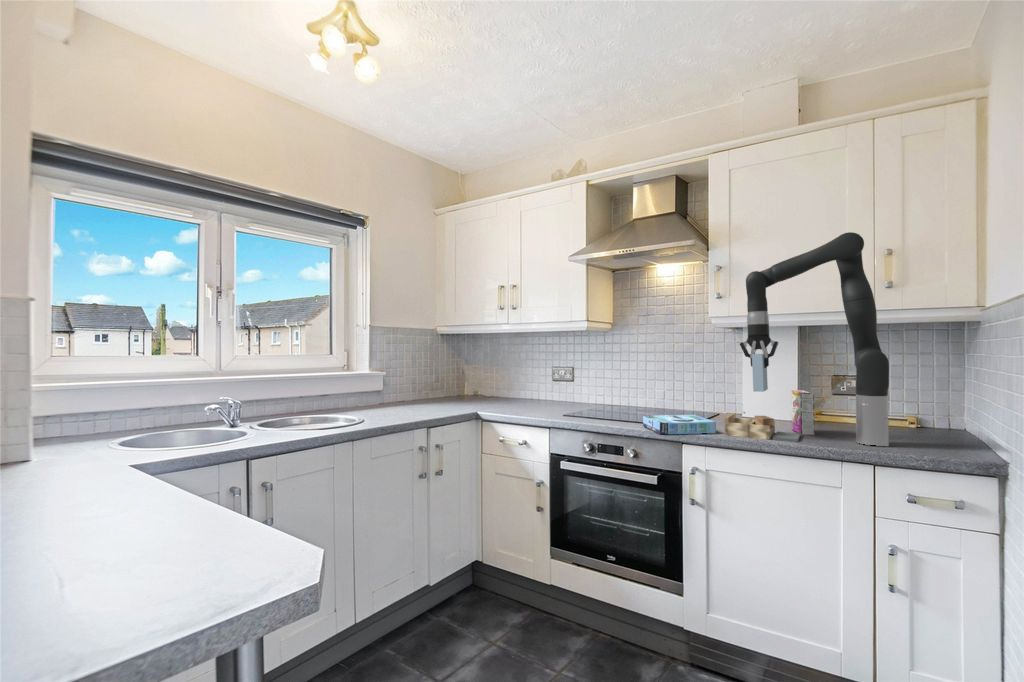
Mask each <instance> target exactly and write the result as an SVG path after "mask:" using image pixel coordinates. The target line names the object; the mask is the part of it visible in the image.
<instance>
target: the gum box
mask: <svg viewBox="0 0 1024 682" xmlns="http://www.w3.org/2000/svg"><path fill="white" fill-rule="evenodd" d="M716 424H717V422H716V421H715V420H711V419H708V418H705V417H702V416H700V415H697V414H668V415H666V414H665V415H664V414H663V415H660V414H659V415H643V417H642V427H643V426H645V427H644V428H646V427H647V428H646V429H648V428H649V430H650V431H652V432H655V433H657V434H658V435H695V434H697V435H698V434H700V435H702V433H707V434H716V433H717V432H716V431H717V427H716V426H717V425H716Z"/></svg>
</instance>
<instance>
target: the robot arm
mask: <svg viewBox="0 0 1024 682" xmlns="http://www.w3.org/2000/svg"><path fill="white" fill-rule="evenodd" d="M864 247H865V240H864V238H863V237H862V236H861V235H860V234H859V233H857V232H853V231H852V232H849V231H848V232H845V233H842V234H840V235H839V236H837V237H835V238H833V239H832V240H830V241H828V242H827V243H824V244H821V246H818V247H816V248H814V249H811V250H809V251H807V252H804V253H801V254H798V255H795V256H792V257H790V258H788V259H784V260H782V261H780V262H777V263H775V264H773V265H771V266H770V267H768V268H765V269H764V270H761V271H758V270H755V271H751V272H749V273H748V275H747V276H746V277H745V287H746V288H745V289H746V295H747V302H746V304H747V307H746V308H747V309H746V311H747V314H746V315H747V316H746V323H747V338H746V341H743V342H739V345H740V348H741V350H742V352H743V354H744V356H745V357H746V358H749V359H750V366H751V367H752V354H756V353H757V351H758V350H761V351H762V354H764V357H765V358H764V368H767V369H768V367H769V366H770V360H769V358H771V357H774V355H775V353H776V351H777V349H778V345H779V341H776V340H773V339H771V337H770V319H769V318H770V317H769V312H768V300H767V288H768V287H771V286H773V285H776V284H777V283H781V282H783V281H787V280H789V279H792V278H794V277H797V276H800V275H801V274H803V273H807V272H808V271H810V270H813V269H815V268H817V267H819V266H821V265H824V264H826V263H829V262H833V261H835V263H836V266H837V269H838V274H839V276H840V290H841V291H840V292H841V298H842V304H843V309H844V314H845V318H846V321H847V325H848V327H849V331H850V333H851V337H852V343H853V344H852V345H853V355H854V366H855V367H856V372H855V375H856V377H855V380H856V381H855V382H856V383H855V442H857V443H856V444H859V443H860V444H859V445H863V444H865V446H870V445H876V446H875V447H890V445H889V444H890V443H889V442H890V439H889V437H890V433H889V428H890V427H889V423H890V422H889V396H888V395H889V387H890V385H889V384H890V363H889V362H890V361H889V358H888V357H887V355H886V354H885V353H884V352H882V349H881V345H880V342H879V339H878V332H877V327H878V326H877V325H878V323H877V322H878V321H877V320H878V319H877V318H878V317H877V316H878V315H877V307H876V306H877V305H876V303H875V302H876V301H875V297H874V293H873V290H872V287H871V284H870V282H869V280H868V278H867V275H866V273H865V269H864V263H863V251H864V250H863V249H864ZM747 344H748V345H747ZM769 345H771V347H772V348H771V350H770V352H769V353H768V349H767V347H768V346H769ZM747 346H749V347H750V348H751V350H750V352H749V350H748V349H747Z"/></svg>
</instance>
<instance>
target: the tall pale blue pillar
mask: <svg viewBox="0 0 1024 682" xmlns="http://www.w3.org/2000/svg"><path fill="white" fill-rule="evenodd" d="M764 358H765V357H764V354H763V353H755V354H752V368H751V369H752V389H753V392H755V393H756V392H758V393H759V392H761V393H762V392H763V393H764V392H765V391H768V390H769V388H768V386H769V385H768V367H767V368H764Z"/></svg>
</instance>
